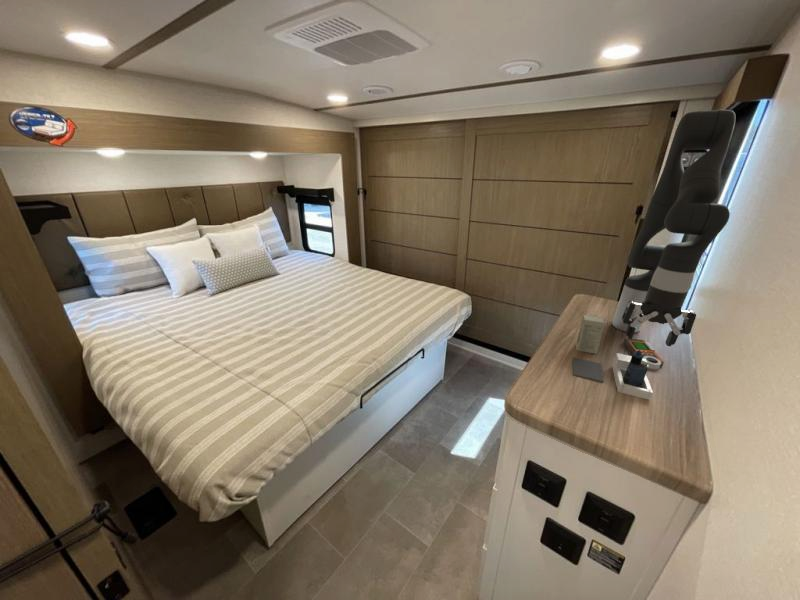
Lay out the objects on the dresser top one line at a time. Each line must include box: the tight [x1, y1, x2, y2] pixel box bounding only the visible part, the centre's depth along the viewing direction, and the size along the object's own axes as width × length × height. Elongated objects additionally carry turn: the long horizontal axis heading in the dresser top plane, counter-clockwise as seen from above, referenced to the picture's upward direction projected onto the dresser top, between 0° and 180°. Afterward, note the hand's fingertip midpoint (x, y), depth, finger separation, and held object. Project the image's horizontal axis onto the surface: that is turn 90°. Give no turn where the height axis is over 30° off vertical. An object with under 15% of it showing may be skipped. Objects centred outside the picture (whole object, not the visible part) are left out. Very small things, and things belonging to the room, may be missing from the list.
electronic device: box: [622, 337, 665, 370], centre depth 103 cm, size 7×3×15 cm
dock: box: [611, 351, 654, 401], centre depth 94 cm, size 24×8×5 cm, turn 153°
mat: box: [572, 356, 605, 383], centre depth 96 cm, size 10×8×1 cm
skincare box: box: [575, 314, 606, 355], centre depth 104 cm, size 6×4×12 cm
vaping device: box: [622, 351, 649, 388], centre depth 87 cm, size 3×5×12 cm, turn 95°
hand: (648, 341), depth 83 cm, fingers open, 8 cm apart
